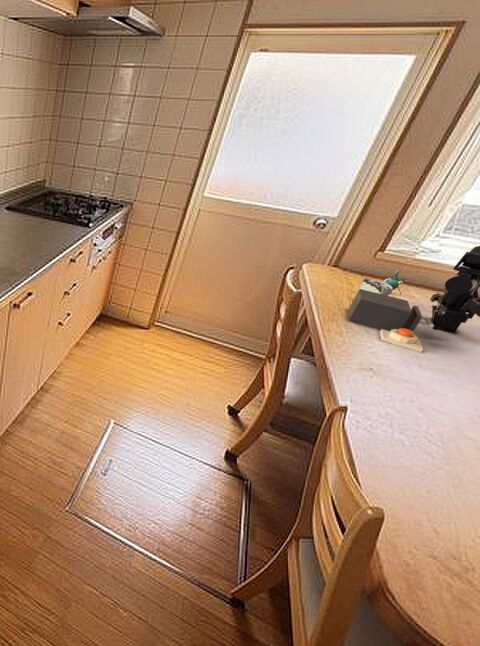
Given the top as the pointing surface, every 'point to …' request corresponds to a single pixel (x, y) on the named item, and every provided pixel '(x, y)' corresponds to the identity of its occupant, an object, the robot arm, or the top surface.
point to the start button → (405, 332)
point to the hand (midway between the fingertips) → (434, 329)
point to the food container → (375, 286)
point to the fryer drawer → (416, 319)
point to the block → (401, 339)
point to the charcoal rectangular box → (378, 311)
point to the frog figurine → (394, 281)
